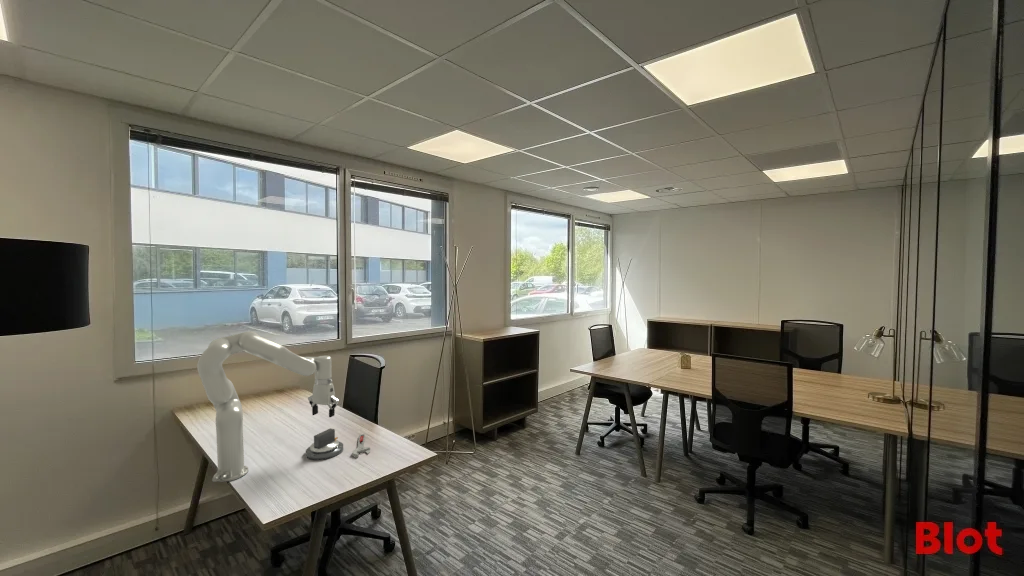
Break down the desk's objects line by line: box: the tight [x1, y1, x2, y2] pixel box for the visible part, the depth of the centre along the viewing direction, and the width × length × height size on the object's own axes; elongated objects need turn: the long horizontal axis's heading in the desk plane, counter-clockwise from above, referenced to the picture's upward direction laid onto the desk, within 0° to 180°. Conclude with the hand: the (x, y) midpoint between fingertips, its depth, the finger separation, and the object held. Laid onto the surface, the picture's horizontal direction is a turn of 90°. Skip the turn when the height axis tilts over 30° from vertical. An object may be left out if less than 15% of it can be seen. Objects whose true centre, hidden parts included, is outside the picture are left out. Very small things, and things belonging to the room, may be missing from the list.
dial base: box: [305, 441, 344, 461], centre depth 197 cm, size 17×17×2 cm
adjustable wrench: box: [351, 433, 371, 458], centre depth 204 cm, size 8×26×2 cm, turn 12°
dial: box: [309, 428, 340, 453], centre depth 198 cm, size 14×13×8 cm
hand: (323, 415), depth 196 cm, fingers open, 9 cm apart
